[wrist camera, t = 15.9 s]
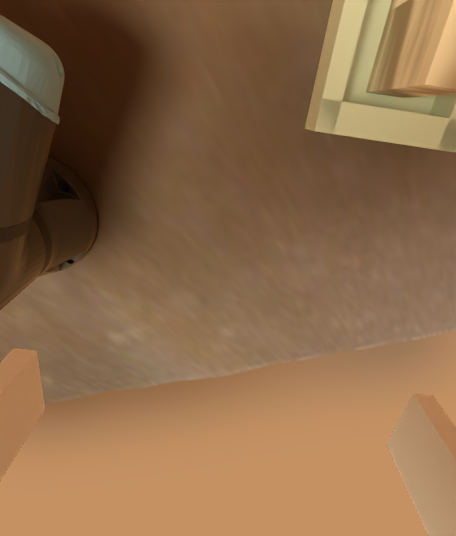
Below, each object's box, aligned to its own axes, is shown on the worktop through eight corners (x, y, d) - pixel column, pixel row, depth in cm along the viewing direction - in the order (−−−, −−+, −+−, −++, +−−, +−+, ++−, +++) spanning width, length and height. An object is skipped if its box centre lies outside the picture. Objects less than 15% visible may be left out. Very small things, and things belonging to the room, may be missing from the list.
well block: (304, 128, 38) (314, 131, 34) (354, -98, 30) (376, -135, 25) (429, 147, 39) (455, 152, 34) (511, -68, 31) (560, -99, 26)
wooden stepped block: (365, 92, 36) (424, 84, 25) (399, -27, 31) (488, -99, 20) (401, 97, 36) (475, 92, 25) (439, -20, 31) (549, -87, 21)
